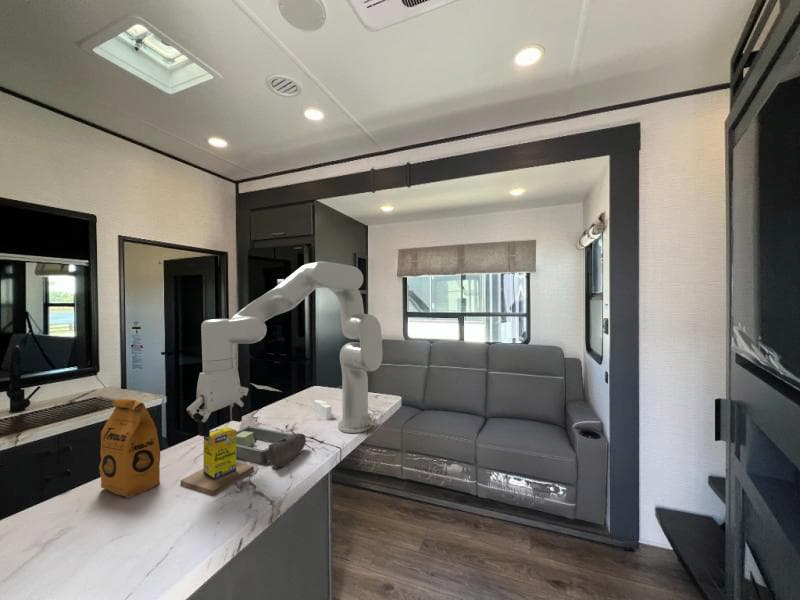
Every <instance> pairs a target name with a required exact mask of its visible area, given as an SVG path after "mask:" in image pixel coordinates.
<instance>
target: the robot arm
mask: <svg viewBox="0 0 800 600" xmlns="http://www.w3.org/2000/svg"><path fill="white" fill-rule="evenodd" d="M363 283H364V275H363V273H362V271H361V269H359V268H358V267H356V266H354V265H348V264H342V263H336V262H330V261H325V260H323V261H322V260H320V261H315V262H308V263H305V264H303V265H301V266H300V267H299V268H297V269H296V270H295V271H293V272H292V273H291V274H290V275H289V276H287V277H286V278H285V279H284V280H282V281H281V282H280V283H278V284H277V285H276V286H275V287H274V288H272V289H270V290H269V291H267V292H266V293H264V294H262V295H261V296H260V297H258V298H256V299H254V300H253V301H251V302H250V303H248V304H247V305H246V306H245V307H243V308H242V309H240V310H239V311H238V312H237V313H236V314H234V315H233V316H232V317H231V318H214V319H206V320H203V321H202V323H201V326H200V327H201V329H200V331H201V333H200V334H201V356H202V372H199V375H198V380H197V386H196V399H195V400H194V401H193V402H192V403H191V404H190V405H189V406H187V408H186V412H187V413H188V415H189V417H190V418H191V419H193V420H195V422H197V432H198V435H199V436H200V437H203V438H204V437H208V436H209V435H210V431H211V430H210V429H211V427H210V421H209V420H208V419H209V417H210V415H212V413H213V412H216V411H218V410H221V409H224V408H226V407H229V406H231V405H232V406H231V421H232V422H237V423H241V422H243V412H242V411H243V409H242V407H244V404H245V401H246V400H247V397H248V392H249V388H248V387H245V386H241V381H240V375H239V371H238V368H237V366H236V363H237V362H238V358H237V356H235V353H236V352H235V344H255V343H257V342H260V341H262V339H264V338H265V336H266V334H267V331H268V329H267V325H266V323H265V322H266V321H268V320H269V319H272V318H273V317H275V316H279V315H281V314H283V313H286V312H289V311H291V310H293V309H295V308H296V307H297V306H298V305H299V304H301V302H303V300H304V299H306V298H307V297H308V296H309V295H310V294H311V293H312V292H314V291H315V290H316V289H322V288H323V289H328V290H330V291H331V292H332V293H333V294H334V295H335V296H336V297H337V299H338V302H339V307H340V317H341V318H340V319H341V320H340V321H341V322H340V323H341V332H342V335H343V336H344V337H346V338H348V339H350V340H358V341H359V342H358V341H352V342H347V343H345V344H344V345H342V347H341V349H340V352H339V362H340V368H341V376H342V377H341V380H342V383H341V384H342V385H341V386H342V388H341V389H342V420H341V421H339V422H338V425H337V427H338V429H339V430H340V432H343V433H346V434H347V433H348V434H351V433H352V434H358V433H364V432H366V431H368V430H370V429H371V428H373V427H376V426H378V421H377V420H378V419H377V418H373V417H371V413H369V396H368V395H369V377H368V373H367V372H374V371H376V370H378V369H379V367H380V366H381V364H382V363H383V362H382V361H383V337H382V327H381V323H380V321H379V320H378V318H377V317H376V316H375V315H373V314H370V313H368V314H367V313H365V309H364V302H363V297H362V294H361V292H360V290H359V289H360V288H361V287H362V285H363ZM197 410H198V411H197Z"/></svg>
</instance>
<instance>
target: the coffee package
mask: <svg viewBox="0 0 800 600" xmlns="http://www.w3.org/2000/svg"><path fill="white" fill-rule="evenodd" d="M112 406H113V407H115V408H114V409H113V410H112V411H113V412H112V413H111V414H110V416H109V418H108V420H107V421H106V422H105V424H104V426H103V428H102V430H101V431H100V453H99V454H100V463H99V467H98V470H99V475H100V487H101V489H104V490H107V491H109V492H111V493H114V494H116V495H118V496H121V497H126V498H129V499H130V498H132V497H134V496H135V495H138V494H141V493H143V492H144V491H146V490H149V489H151V488H154V487H156V486H157V485H159V484H160V483H161V482H160V481H161V480H160V478H161V477H160V476H161V475H160V473H161V472H160V468H161V467H160V463H161V450H160V442H159V437H158V436H159V435H158V430H157V427H156V424H155V422H154V420H153V418H152V417H151V415H150V412H149V411H148V409H147V408H146V406H145V403H143V402H140V401H138V400H137V399H128V398H127V399H126V398H120V397H118V398H116V399H115V400H113V401H112Z"/></svg>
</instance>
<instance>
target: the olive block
mask: <svg viewBox="0 0 800 600" xmlns="http://www.w3.org/2000/svg"><path fill="white" fill-rule="evenodd" d="M236 444H238V445H243V446H247V447H249V446H250V447H251V446H253V445H254V438H253V432H246V431H242V432H241V433H239V434H237V435H236ZM252 444H253V445H252Z"/></svg>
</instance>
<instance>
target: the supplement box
mask: <svg viewBox="0 0 800 600" xmlns="http://www.w3.org/2000/svg"><path fill="white" fill-rule="evenodd" d="M236 431H237V430H235V429H233V428H232V427H229V426H227V425H225V426H223V427H219V428H216V429H212V430H210V435H209V436H208V437H203V467H202V469H203V473H204V474H205V475H207V476H208V477H210V478H211V479H213V480H216V479H217V478H220V477H222V476H224V475H226V474H229V473H231V472H234V471H236V462H237V458H236Z"/></svg>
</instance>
